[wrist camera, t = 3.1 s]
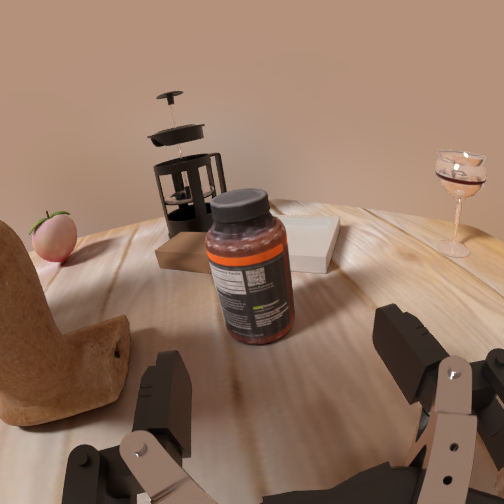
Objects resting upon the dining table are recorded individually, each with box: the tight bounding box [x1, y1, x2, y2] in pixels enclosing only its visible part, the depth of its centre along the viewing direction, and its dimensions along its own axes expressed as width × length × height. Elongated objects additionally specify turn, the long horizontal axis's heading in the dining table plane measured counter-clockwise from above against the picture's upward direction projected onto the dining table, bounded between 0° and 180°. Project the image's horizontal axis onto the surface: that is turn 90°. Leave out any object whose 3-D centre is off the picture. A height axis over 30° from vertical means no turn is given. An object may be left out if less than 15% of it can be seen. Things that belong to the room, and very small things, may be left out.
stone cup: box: [0, 220, 131, 426], centre depth 15 cm, size 15×12×15 cm
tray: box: [272, 215, 340, 274], centre depth 37 cm, size 12×12×2 cm
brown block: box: [155, 232, 212, 274], centre depth 37 cm, size 9×6×2 cm, turn 67°
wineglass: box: [436, 149, 487, 257], centre depth 28 cm, size 7×7×12 cm
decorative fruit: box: [29, 211, 77, 262], centre depth 43 cm, size 9×8×10 cm
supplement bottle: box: [205, 188, 295, 344], centre depth 22 cm, size 6×6×11 cm
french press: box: [148, 91, 227, 239], centre depth 43 cm, size 12×9×23 cm
